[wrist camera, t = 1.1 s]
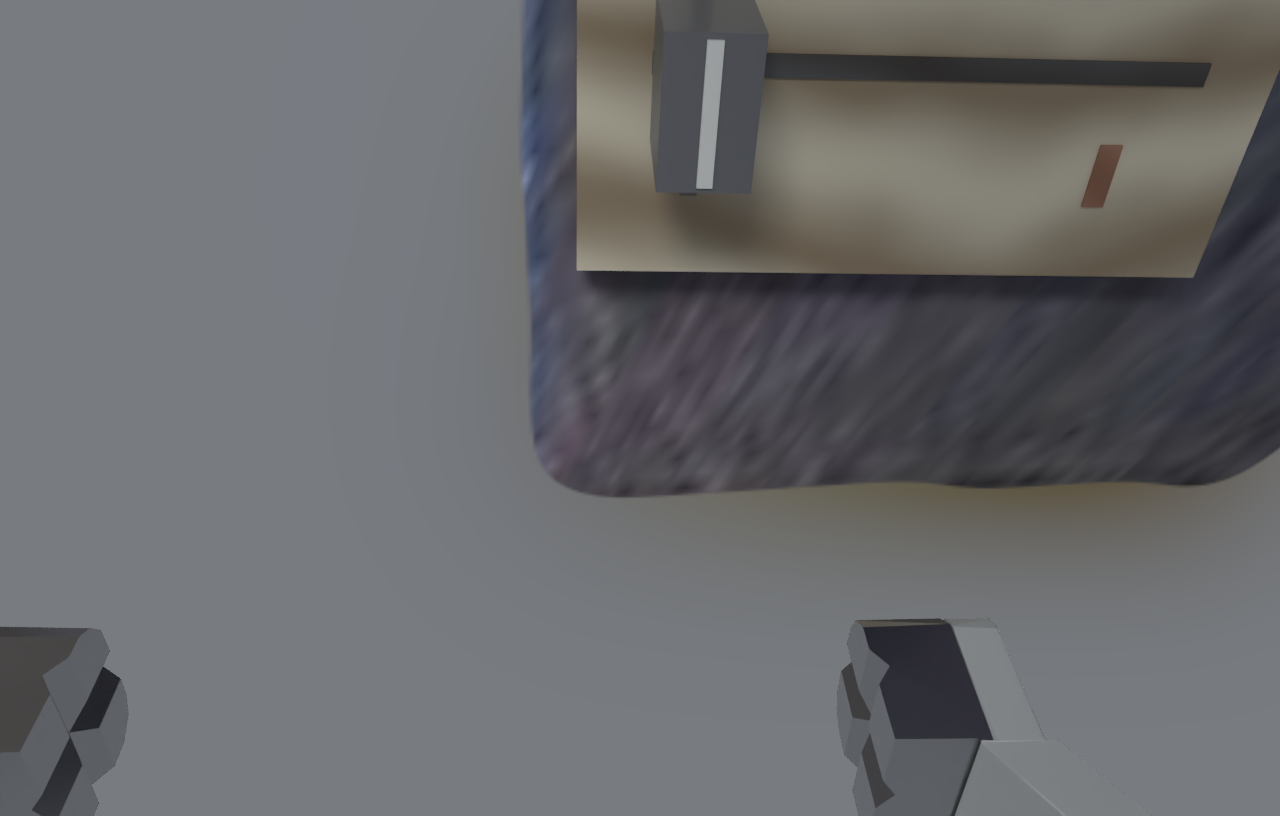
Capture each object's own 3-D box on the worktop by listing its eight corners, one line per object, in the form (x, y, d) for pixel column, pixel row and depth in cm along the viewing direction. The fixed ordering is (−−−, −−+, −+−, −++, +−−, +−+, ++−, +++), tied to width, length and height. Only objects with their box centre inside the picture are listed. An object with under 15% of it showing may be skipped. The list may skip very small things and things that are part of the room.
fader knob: (656, -11, 33) (664, 32, 30) (751, -9, 33) (769, 35, 30) (649, 139, 36) (656, 193, 33) (736, 141, 36) (751, 195, 33)
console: (577, -229, 32) (576, -218, 30) (1348, -200, 33) (1388, -188, 31) (577, 244, 41) (576, 271, 40) (1170, 251, 43) (1194, 279, 41)
